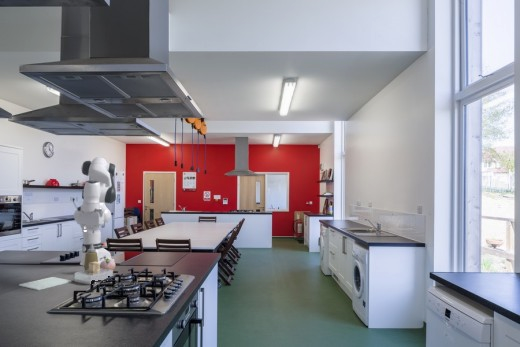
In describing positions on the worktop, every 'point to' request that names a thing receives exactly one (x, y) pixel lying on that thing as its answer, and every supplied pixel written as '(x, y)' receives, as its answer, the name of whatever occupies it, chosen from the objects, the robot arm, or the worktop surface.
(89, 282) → the aluminium socket block
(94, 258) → the squeeze bottle
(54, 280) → the sage pad
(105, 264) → the decorative fruit
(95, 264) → the birch peg
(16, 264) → the worktop surface
